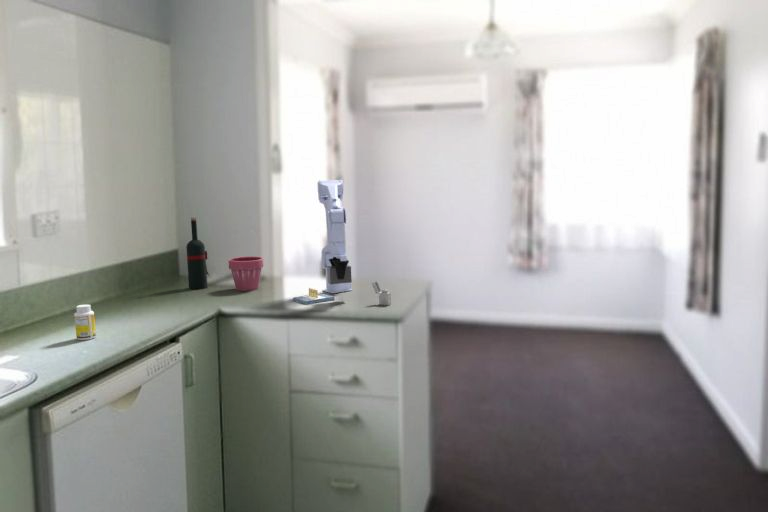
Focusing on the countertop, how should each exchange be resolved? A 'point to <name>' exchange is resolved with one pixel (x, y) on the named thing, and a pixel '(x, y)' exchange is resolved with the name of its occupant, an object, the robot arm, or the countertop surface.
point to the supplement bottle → (85, 323)
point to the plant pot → (246, 272)
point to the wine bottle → (196, 260)
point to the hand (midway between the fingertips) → (339, 278)
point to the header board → (313, 297)
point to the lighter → (382, 294)
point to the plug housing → (334, 279)
